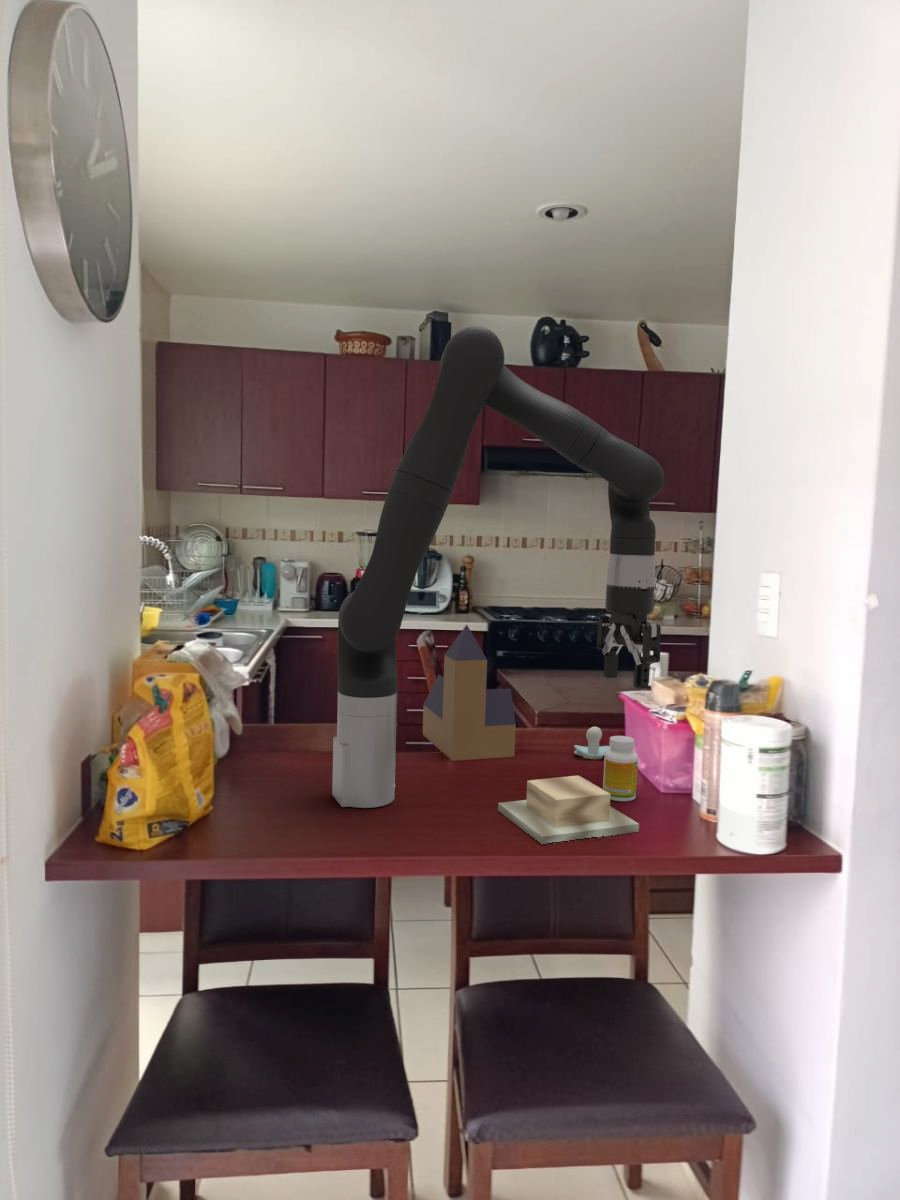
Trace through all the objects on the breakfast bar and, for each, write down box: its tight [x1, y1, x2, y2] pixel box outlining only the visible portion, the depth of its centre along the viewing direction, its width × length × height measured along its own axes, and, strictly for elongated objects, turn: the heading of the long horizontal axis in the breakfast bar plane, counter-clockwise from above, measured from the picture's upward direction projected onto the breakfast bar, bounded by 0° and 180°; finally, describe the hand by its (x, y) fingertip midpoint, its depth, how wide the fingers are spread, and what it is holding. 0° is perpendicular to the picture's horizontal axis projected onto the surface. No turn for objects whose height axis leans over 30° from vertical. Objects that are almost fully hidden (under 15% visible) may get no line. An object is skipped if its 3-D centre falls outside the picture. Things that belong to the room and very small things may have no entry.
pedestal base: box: [497, 775, 640, 845], centre depth 123 cm, size 16×14×5 cm
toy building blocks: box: [422, 624, 517, 762], centre depth 162 cm, size 12×19×25 cm, turn 19°
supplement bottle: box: [602, 735, 639, 802], centre depth 135 cm, size 5×5×10 cm
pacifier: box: [573, 726, 611, 760], centre depth 158 cm, size 7×6×6 cm
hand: (625, 682), depth 133 cm, fingers open, 8 cm apart
